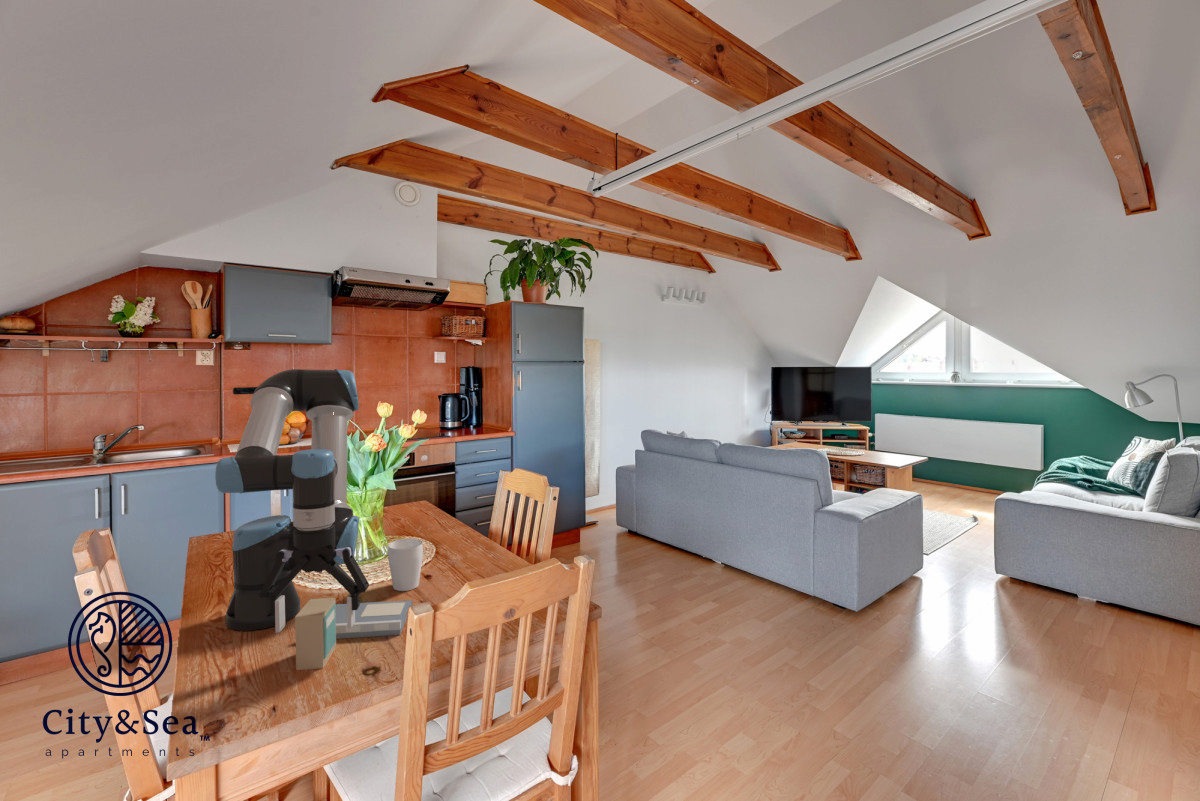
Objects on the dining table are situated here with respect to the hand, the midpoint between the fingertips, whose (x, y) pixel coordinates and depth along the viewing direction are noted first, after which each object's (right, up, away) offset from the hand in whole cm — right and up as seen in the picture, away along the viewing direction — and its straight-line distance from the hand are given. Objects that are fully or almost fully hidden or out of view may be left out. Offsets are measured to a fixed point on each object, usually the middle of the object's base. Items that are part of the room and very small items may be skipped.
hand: (316, 627), depth 109 cm
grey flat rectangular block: (+2, -6, +16) cm, 18 cm away
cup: (+5, -5, +36) cm, 37 cm away
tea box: (0, -7, +1) cm, 7 cm away
